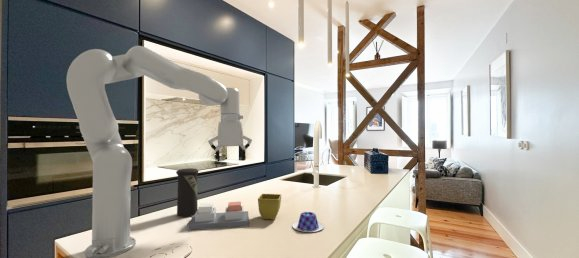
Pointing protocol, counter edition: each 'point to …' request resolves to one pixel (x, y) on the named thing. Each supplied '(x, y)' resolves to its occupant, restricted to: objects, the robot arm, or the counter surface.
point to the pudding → (308, 223)
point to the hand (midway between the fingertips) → (230, 160)
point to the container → (187, 192)
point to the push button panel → (219, 219)
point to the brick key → (234, 206)
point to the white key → (205, 208)
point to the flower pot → (269, 205)
